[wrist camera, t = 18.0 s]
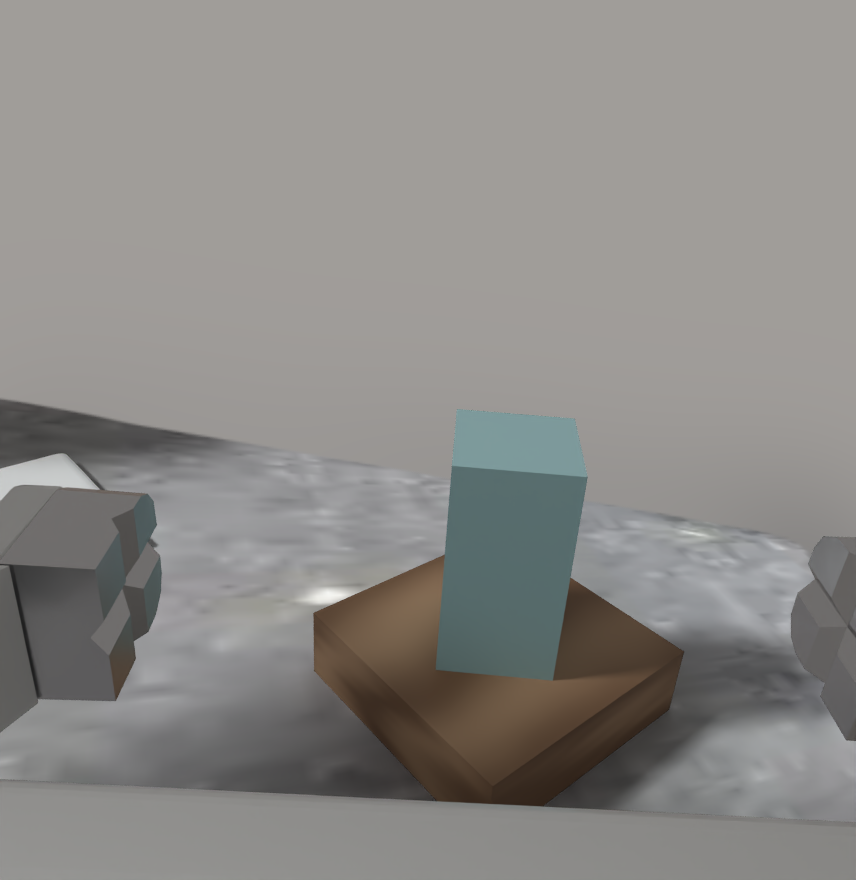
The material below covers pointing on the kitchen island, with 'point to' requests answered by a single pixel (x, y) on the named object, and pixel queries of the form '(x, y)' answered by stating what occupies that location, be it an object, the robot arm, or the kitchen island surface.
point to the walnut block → (492, 692)
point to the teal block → (509, 543)
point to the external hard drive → (45, 474)
